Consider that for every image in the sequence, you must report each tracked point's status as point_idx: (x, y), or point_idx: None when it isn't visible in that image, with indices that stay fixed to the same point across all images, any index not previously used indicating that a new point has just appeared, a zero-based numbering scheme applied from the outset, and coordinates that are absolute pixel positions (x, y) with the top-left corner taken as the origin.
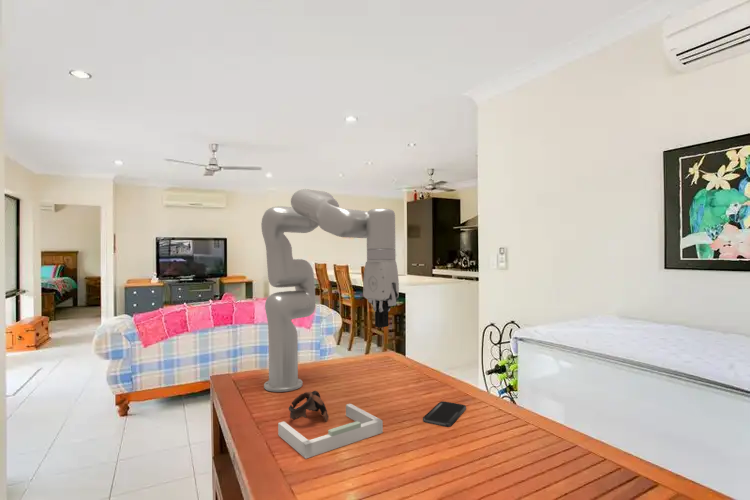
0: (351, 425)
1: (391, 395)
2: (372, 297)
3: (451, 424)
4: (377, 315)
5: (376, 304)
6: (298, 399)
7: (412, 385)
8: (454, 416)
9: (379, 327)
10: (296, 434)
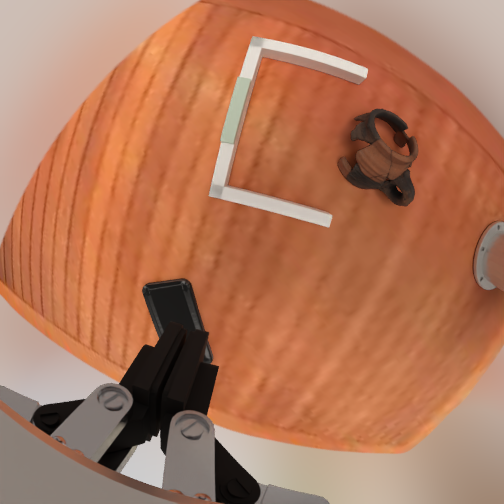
0: (227, 119)
1: (313, 346)
2: (110, 493)
3: (143, 292)
4: (164, 375)
5: (165, 459)
6: (411, 149)
7: (306, 397)
8: (156, 320)
9: (172, 323)
10: (298, 50)
